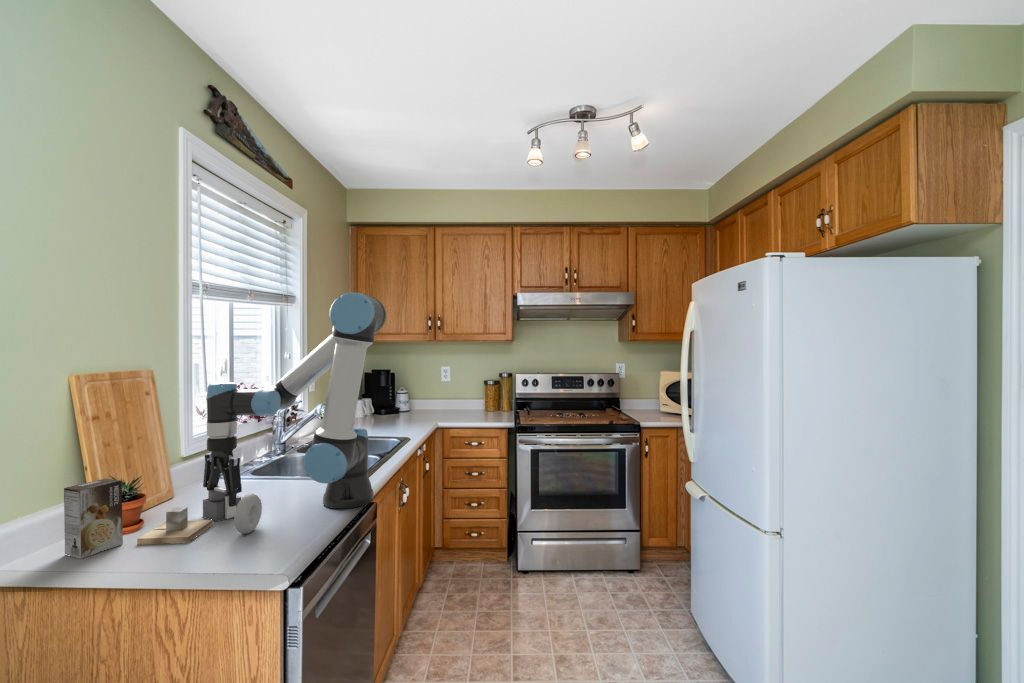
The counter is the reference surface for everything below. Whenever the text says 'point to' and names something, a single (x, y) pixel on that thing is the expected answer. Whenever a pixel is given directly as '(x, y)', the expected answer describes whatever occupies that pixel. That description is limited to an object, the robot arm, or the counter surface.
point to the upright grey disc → (248, 513)
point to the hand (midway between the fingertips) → (222, 514)
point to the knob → (216, 504)
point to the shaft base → (175, 534)
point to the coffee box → (93, 517)
